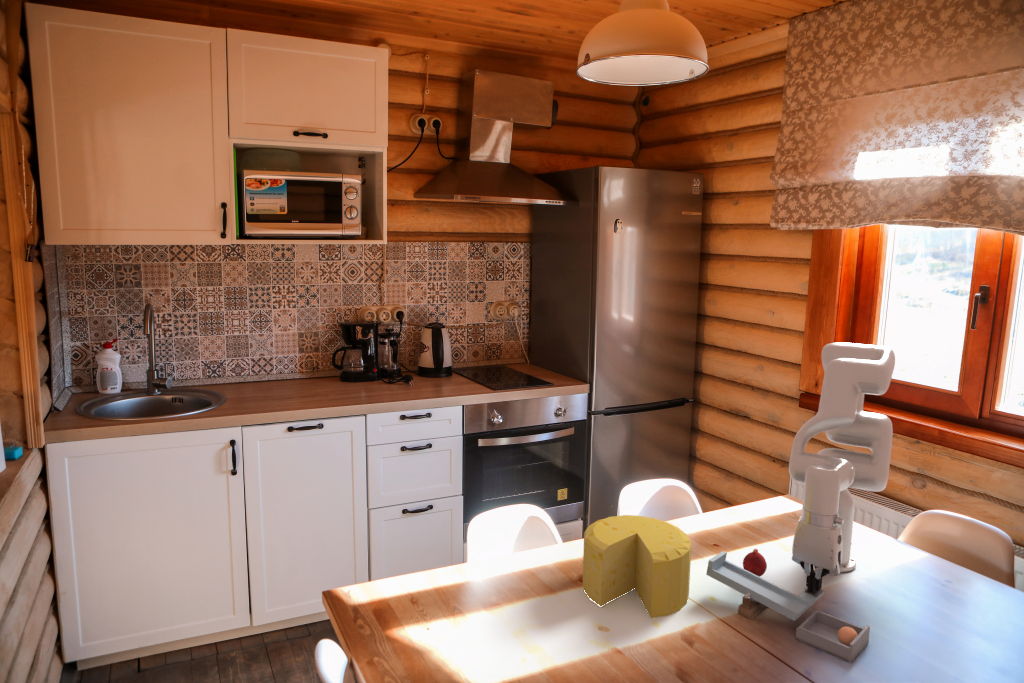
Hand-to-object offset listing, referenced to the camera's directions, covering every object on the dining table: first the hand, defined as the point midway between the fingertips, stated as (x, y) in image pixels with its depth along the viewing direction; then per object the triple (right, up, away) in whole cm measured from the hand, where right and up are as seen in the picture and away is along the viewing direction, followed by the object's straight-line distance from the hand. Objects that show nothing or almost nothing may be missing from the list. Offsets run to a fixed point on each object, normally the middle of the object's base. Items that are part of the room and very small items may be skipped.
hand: (813, 591), depth 159 cm
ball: (0, -3, -13) cm, 13 cm away
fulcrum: (-13, -5, +1) cm, 14 cm away
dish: (-1, -7, -11) cm, 13 cm away
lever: (-11, 0, +3) cm, 11 cm away
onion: (-8, -3, +16) cm, 18 cm away
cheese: (-40, -3, +10) cm, 42 cm away
